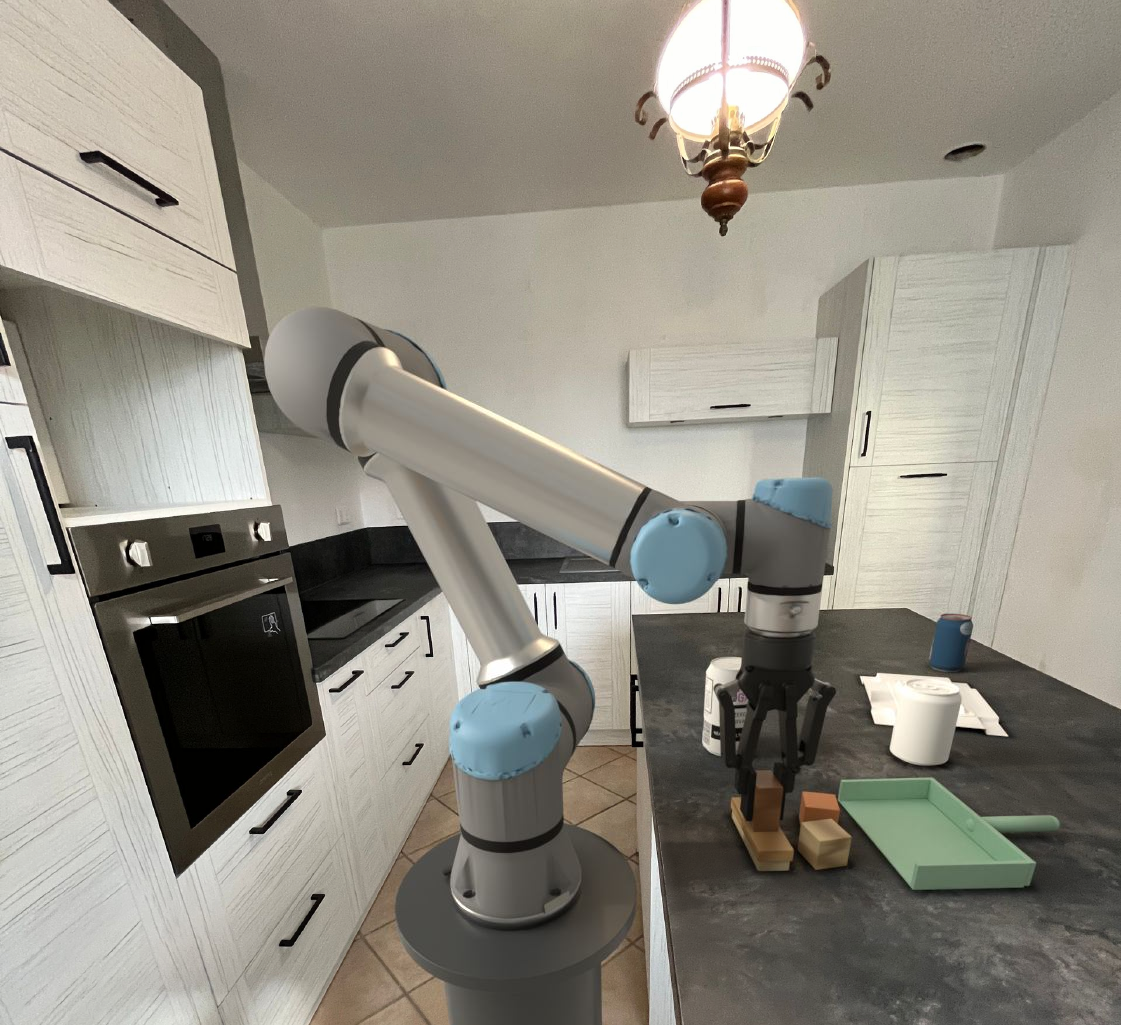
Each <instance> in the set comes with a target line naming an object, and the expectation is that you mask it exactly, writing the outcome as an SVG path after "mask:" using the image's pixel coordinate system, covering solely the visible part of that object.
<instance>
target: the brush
mask: <svg viewBox="0 0 1121 1025" xmlns="http://www.w3.org/2000/svg"><path fill="white" fill-rule="evenodd" d="M755 771H756V773H757V778H756V785H755V795H754V806H753V816H752V821H746V820H745V818H744V816H743V814H742V812H741V810H740V803H741V796H739V797H737V796H735V797H733V796H732V797H731V798H730V808H731V811H732V812H731V819H732V820H733V823H734V824H735V827H736V829H737V831H738V833H739V835H740V837H741V839H742V841H743V843H744V845H745V848H746V849H747V852H748V853H749V855H750V857H751V860H752V862H753V864H754V866H755V868H756V870H757V872H783V871H784V872H785V871H790V864H791V863H790V862H793V861H794V853H795V850H794V848H793V846H792V845H791V843H790V842H789V840H788V838H787V836H786V834H785V833H784V832H783V830H782V828H781V826H780V821H781V820H780V812H781V804H782V795H783V787H782V785H781V784H780V782H779V781H778V780H777V778H776V777H775V775H774V774H773V771H772V770H771V769H769V770H768V769H766V770H765V769H764V770H763V769H762V770H761V769H760V770H755Z"/></svg>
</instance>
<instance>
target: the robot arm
mask: <svg viewBox="0 0 1121 1025" xmlns="http://www.w3.org/2000/svg"><path fill="white" fill-rule="evenodd" d="M263 363H264V365H263V366H264V375H265V378H266V382H267V386H268V390H269V391H270V393H271V394H270V395H271V396H272V398H273V400H274V402H275V403H276V405H277V407H278V408H279V409H280V411H281V412H282V413H283V414H284V416H286V418H287V419H288V420H289V421H291V422H292V423H293V424H294V425H295V426H296V427H298V428H299V429H301V430H302V431H304V432H306V433H307V434H309V435H312V436H314V437H316V438H318V439H321V440H323V441H325V442H328V443H330V444H332V445H334V446H336V447H339V448H341V449H343V450H344V451H346V452H349V453H351V454H353V455H354V456H355V458H356V459H357V461H358V462H359V464H360V466H361V468H362V470H363V472H364V474H365V475H366V476H367V477H369V478H372V479H375V480H377V481H380V482H383V483H384V484H385V485H386V487H387V489H388V492H389V493H390V495H391V497H392V499H393V501H394V503H395V504H396V506H397V509H398V510H399V512H400V514H401V516H402V518H403V520H404V521H405V523H406V525H407V527H408V529H409V531H410V533H411V535H412V537H413V538H414V540H415V542H416V544H417V546H418V548H419V550H420V552H421V554H422V556H423V557H424V559H425V561H426V563H427V565H428V567H429V569H430V571H431V573H432V574H433V577H434V578H435V580H436V582H437V584H438V586H439V587H440V590H441V591H442V593H443V595H444V597H445V600H446V601H447V603H448V604H449V607H450V608H451V610H452V612H453V614H454V616H455V618H456V620H457V621H458V624H459V625H460V628H461V629H462V632H463V633H464V634H465V637H466V639H467V640H468V643H469V645H470V646H471V648H472V651H473V652H474V654H475V656H476V658H477V660H478V662H479V665H480V668H479V670H478V675H477V677H476V681H475V682H476V685H477V686H478V689H475V690H473V691H471V692H469V693H468V694H467V695H464V697H462V698H461V699H460V700H459V701H458V702H457V704H456V705H455V707H454V708H453V709H452V711H451V714H450V719H449V738H448V747H449V753H450V757H451V762H452V769H453V779H454V786H455V795H456V804H457V805H456V806H457V812H458V820H459V829H460V833H461V837H460V840H459V844H458V848H457V852H456V856H455V860H454V864H452V865H450V866H448V867H445V868H443V870H442V871H443V874H444V875H445V876H447V875H449V874H451V878H450V886H451V894H452V900H453V903H454V905H455V907H456V909H457V910H458V911H459V913H460V914H461V915H462V916H463V917H465V918H466V919H467V920H469V921H471V922H472V923H474V924H477V925H479V926H482V927H485V928H489V929H494V930H503V931H516V930H525V929H530V928H534V927H538V926H541V925H544V924H547V923H549V922H551V921H553V920H555V919H557V918H558V917H560V916H561V915H563V914H564V913H565V912H567V911H568V910H569V909H570V908H571V907H572V906H573V904H574V903H575V902H576V900H577V899H578V897H579V894H580V891H581V887H582V876H581V866H580V863H579V859H578V857H577V855H576V852H575V850H574V847H573V845H572V843H571V840H570V838H569V835H568V833H567V831H566V828H565V826H564V823H565V821H564V820H565V818H564V789H563V787H564V786H563V780H564V779H563V778H564V772H565V770H566V768H567V766H568V764H569V762H570V760H571V758H572V757H573V755H574V753H575V752H576V750H577V748H578V747H579V744H580V743H581V741H582V739H584V737H585V735H586V734H587V733H588V732H589V729H590V727H591V724H592V722H593V719H594V713H595V709H596V708H595V707H596V693H595V687H594V685H593V682H592V680H591V678H590V676H589V675H588V673H587V672H586V671H585V669H584V668H583V667H581V665H580V664H578V663H577V662H576V661H574V660H573V661H572V660H570V659H569V658H568V657H567V655H566V653H565V651H564V648H563V647H562V644H561V642H560V640H558V639H557V638H554V637H551V636H549V635H545V634H544V633H543V632H541V629H540V627H539V625H538V624H537V623H538V622H537V621H536V619H535V616H534V615H533V613H532V611H531V609H530V607H529V605H528V603H527V602H526V599H525V597H524V594H523V593H522V591H521V589H520V587H519V585H518V583H517V580H516V579H515V577H514V574H513V573H512V571H511V569H510V567H509V565H508V563H507V561H506V559H505V557H504V554H503V553H502V551H501V549H500V547H499V545H498V543H497V540H496V539H495V537H494V534H493V532H492V530H491V528H490V526H489V524H488V523H487V521H486V518H485V517H484V514H483V512H482V510H481V508H480V506H479V504H478V503H480V504H482V505H483V506H485V507H488V508H490V509H492V510H494V511H495V512H498V513H500V514H501V515H504V516H506V517H508V518H511V519H513V520H515V521H516V522H519V523H520V524H523V525H524V526H527V527H529V528H531V529H533V530H534V531H537V532H539V533H542V534H543V535H544V536H545V535H546V536H548V537H550V538H551V539H554V540H556V541H558V542H560V543H562V544H564V545H566V546H568V547H570V548H572V549H574V550H576V551H579V552H581V553H582V554H585V555H586V556H589V557H591V558H593V559H595V560H596V561H598V562H601V563H604V564H605V565H607V566H609V567H611V568H613V569H615V570H617V571H618V572H620V573H622V574H624V575H626V576H628V577H630V578H632V579H634V580H635V581H636V583H637V585H638V586H639V588H640V589H641V590H642V591H643V592H644V593H645V594H646V595H647V596H648V597H650V598H652V599H653V600H655V601H657V602H658V603H659V602H660V603H663V604H667V605H683V604H687V603H688V604H689V603H691V602H693V601H696V600H698V599H700V598H701V597H703V596H704V595H706V594H707V593H708V592H709V591H710V590H711V589H712V588H713V586H714V585H715V584H716V583H717V582H718V581H719V580H720V578H721V576H722V575H723V574H732V575H740V574H747V583H746V584H747V585H746V588H747V589H746V597H745V598H746V600H745V608H744V609H745V610H744V617H743V618H744V619H743V623H744V624H745V625H746V626H747V627H746V629H745V630H744V631H743V633H742V634H743V635H742V648H741V657H740V658H741V667H740V670H739V672H738V673H737V675H736V679H735V680H733V681H731V682H729V683H726V684H724V685H722V684H721V683H718V684H715V685H714V688H713V690H714V692H715V694H716V697H717V699H718V701H719V718H720V750H721V756H720V757H721V759H722V761H723V763H724V764H725V766H726V767H727V768H728V769H733V768H734V769H735V772H734V783H733V784H734V788H735V790H736V792H737V794H738V795H740V797H741V803H740V810H741V812H742V814H743V816H744V818H745V820H746V821H752V816H753V806H754V795H755V785H756V778H757V773H756V771H757V770H756V769H755V768H754V766H753V762H754V758H755V754H756V750H757V746H758V742H759V738H760V735H761V731H762V727H763V723H764V721H765V720H766V719H767V716H768V712H769V711H774V710H776V711H777V713H778V729H779V730H778V731H779V746H780V748H779V749H780V759H781V761H774V762H773V771H772V772H773V774H774V775H775V777H776V778H777V780H778V781H779V782H780V784H781V785H782V787H783V795H782V804H781V812H780V821H783V820H784V815H785V805H786V798H787V797H786V796H787V794H792V793H793V792H794V790H795V785H796V784H795V783H796V776H797V774H799V773H800V772H801V770H802V768H801V767H802V766H808V767H809V766H812V765H814V763H815V761H816V758H817V752H818V748H819V744H820V743H819V742H820V740H821V735H822V732H823V727H824V722H825V720H826V714H827V710H828V707H829V705H830V703H832V700H833V699H834V697H835V695H836V694H837V689H836V688H835V686H833V685H832V684H831V683H829V682H828V681H827V680H824V679H821V680H819V679H817V678H816V676H815V674H814V672H813V665H814V659H815V652H816V643H817V634H816V633H815V632H814V629H816V628H818V626H819V617H820V611H821V610H820V609H821V602H822V595H823V594H822V593H823V586H824V585H823V584H824V577H825V568H826V563H827V555H828V548H829V541H830V534H831V530H832V524H831V522H832V505H833V493H834V489H833V485H832V483H831V482H830V481H829V480H828V479H826V478H825V477H816V476H815V477H786V478H785V477H783V478H762V479H760V480H758V481H757V482H756V484H755V487H754V492H753V493H752V497H751V498H745V499H738V500H678V499H675V498H673V497H672V496H669V495H667V494H665V493H663V492H661V491H658V490H656V489H654V488H651V487H649V486H648V485H645V484H643V483H641V482H640V481H637V480H636V479H635V480H634V479H632V478H631V477H628V476H626V475H625V474H622V473H620V472H618V471H615V470H614V469H612V468H610V467H608V466H607V465H603V464H601V463H600V462H597V461H596V460H593V459H591V458H589V457H586V456H584V455H582V454H580V453H579V452H577V451H574V450H572V449H570V448H568V447H566V446H564V445H561V444H559V443H557V442H556V441H553V440H551V439H549V438H547V437H545V436H543V435H541V434H539V433H536V432H534V431H533V430H530V429H528V428H526V427H525V426H522V425H519V423H516V422H513V421H511V420H509V419H507V418H505V417H503V416H502V415H499V414H496V413H494V412H493V411H491V410H489V409H486V408H484V407H483V406H480V405H478V404H476V403H474V402H472V401H470V400H467V399H465V398H463V397H461V396H459V395H457V394H455V393H453V392H451V391H449V390H448V388H447V384H446V380H445V377H444V374H443V373H442V370H441V369H440V367H439V365H438V364H437V362H436V361H435V360H434V358H433V357H432V356H431V355H430V354H429V353H428V351H427V350H425V349H424V348H423V347H422V346H420V345H419V344H417V343H416V342H415V341H413V340H412V339H411V338H410V337H407V336H406V335H404V334H402V333H400V332H398V331H394V330H391V329H386V328H381V327H379V326H377V325H374V324H373V323H370V322H368V321H365V320H363V319H360V318H358V317H356V316H352V315H350V314H348V313H347V312H344V311H341V310H338V309H335V308H331V307H328V306H327V307H326V306H305V307H302V308H299V309H296V310H294V311H292V312H290V313H289V314H287V315H286V316H284V317H282V319H281V320H280V321H279V322H277V324H276V325H275V326H274V328H273V330H272V331H271V332H270V334H269V336H268V339H267V343H266V346H265V350H264V360H263ZM740 689H741V690H742V692H743V693H744V695H745V696H746V698H747V699H748V702H747V707H746V709H747V713H746V717H745V721H744V725H743V729H742V733H741V737H740V741H739V745H738V749H737V753H736V736H735V708H734V704H733V702H735V701H736V700H737V692H738V691H739V690H740ZM807 692H808V696H809V697H808V700H807V702H806V706H805V707H806V708H805V712H804V718H803V722H802V725H801V730H800V735H799V738H798V726H797V718H798V716H799V715H798V714H799V713H798V703H799V701H800V700H801V699H802V698H803V697H804V696H805V695H806V694H807ZM798 739H799V740H798Z"/></svg>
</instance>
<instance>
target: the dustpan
mask: <svg viewBox="0 0 1121 1025" xmlns="http://www.w3.org/2000/svg"><path fill="white" fill-rule="evenodd" d="M837 802H838V803H839V804H840V805H841V806H842V807H843V808H844V809H845V811H846V812H847V813H848V814H849V816H850V817H851V818H852V819H853V821H855V823H856V824H857V825H858V826H859V828H860V829H861V830H862V831H863V832H864V833H865V834H866V836H867V837H868V838H869V839H870V841H871V842H872V843H873V844H874V845H875V846H876V848H877V850H879V851H880V853H881V854H882V855H883V856H884V857H885V859H886V860H887V861H888V862H889V864H891V866H892V867H893V868H894V870H896V871H897V873H898V874H899V875H900V876H901V877H902V879H903V880H904V881H905V882H906V883H907V885H908V886H909V887H910V888H911V890H912V891H923V890H924V891H925V890H927V891H928V890H966V889H967V890H972V889H1010V888H1011V889H1012V888H1013V889H1015V888H1025V887H1029V886H1031V882H1032V879H1033V875H1034V872H1035V869H1036V866H1037V862H1036V861H1035V860H1034V859H1033V858H1031V857H1030V856H1028V855H1027V854H1026V853H1025V852H1023V851H1022V850H1021V848H1019V847H1018V846H1017V845H1015V844H1014V843H1013V842H1012V841H1011V840H1010V839H1008V838H1006V837H1005V836H1004V835H1003V834H1012V833H1013V834H1015V833H1017V834H1018V833H1052V832H1053V833H1054V832H1056V831H1058V830H1059V829H1060V827H1061V822H1060V820H1059V819H1058V818H1057V817H1055V816H1053V815H1051V814H1049V815H1048V814H1043V815H1042V814H1040V815H1005V816H1004V815H1000V816H980V815H979V814H978V813H976V812H975V811H974V810H973V809H972V808H970V807H969V806H968V805H967V804H966V803H964V802H963V801H962V800H961V799H959V798H958V797H957V796H955V794H954V793H952V792H951V791H950V790H949V789H948V788H946V787H945V786H944V785H942V784H941V783H940V782H939V781H938V780H936V779H935V778H934V777H902V778H901V777H899V778H898V777H897V778H896V777H895V778H862V779H859V778H858V779H857V778H856V779H840V782H839V790H838V796H837Z"/></svg>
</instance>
